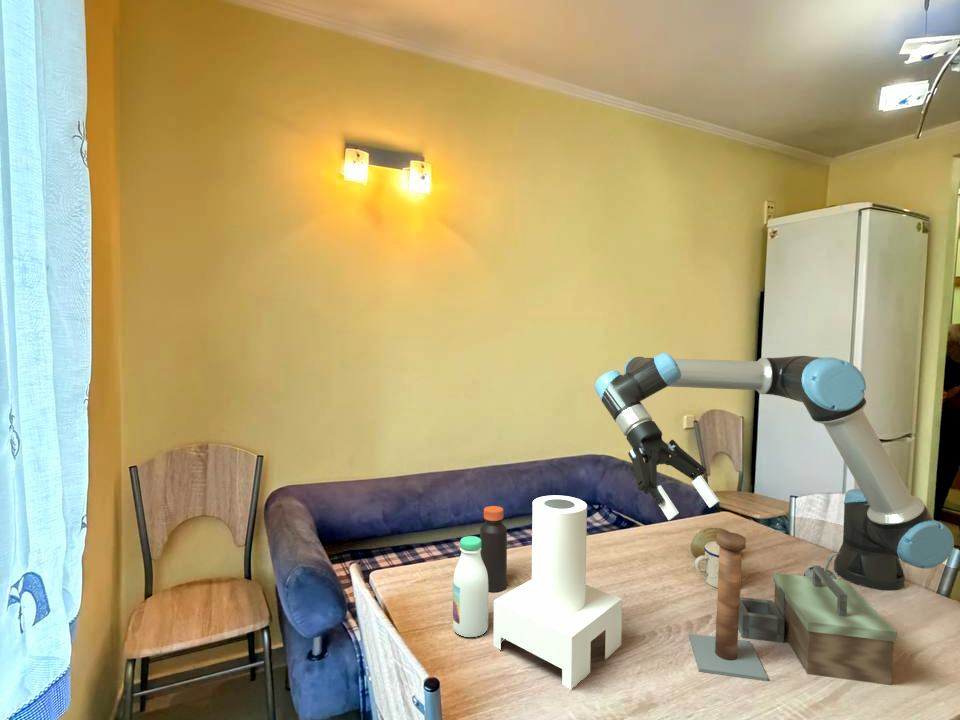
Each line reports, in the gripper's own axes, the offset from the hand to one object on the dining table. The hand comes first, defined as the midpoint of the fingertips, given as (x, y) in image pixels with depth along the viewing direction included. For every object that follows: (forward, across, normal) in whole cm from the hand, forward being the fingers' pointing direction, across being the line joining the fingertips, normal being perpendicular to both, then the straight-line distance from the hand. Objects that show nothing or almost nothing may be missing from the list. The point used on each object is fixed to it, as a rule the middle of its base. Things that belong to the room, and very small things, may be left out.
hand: (694, 510), depth 111 cm
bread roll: (+4, -41, -35) cm, 54 cm away
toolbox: (+29, -17, -9) cm, 35 cm away
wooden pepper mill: (+25, +1, -13) cm, 28 cm away
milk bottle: (0, +39, -38) cm, 55 cm away
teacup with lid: (+11, -26, -28) cm, 40 cm away
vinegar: (-10, +24, -48) cm, 55 cm away
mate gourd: (+26, -37, -14) cm, 47 cm away
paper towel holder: (+10, +27, -28) cm, 40 cm away
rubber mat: (+25, +1, -14) cm, 29 cm away
